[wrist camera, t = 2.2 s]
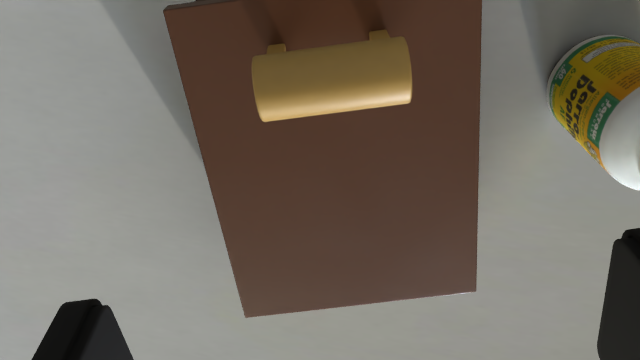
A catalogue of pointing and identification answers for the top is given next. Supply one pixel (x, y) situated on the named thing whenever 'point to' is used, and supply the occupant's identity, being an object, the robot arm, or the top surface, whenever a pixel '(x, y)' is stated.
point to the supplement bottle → (601, 102)
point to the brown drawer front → (337, 144)
